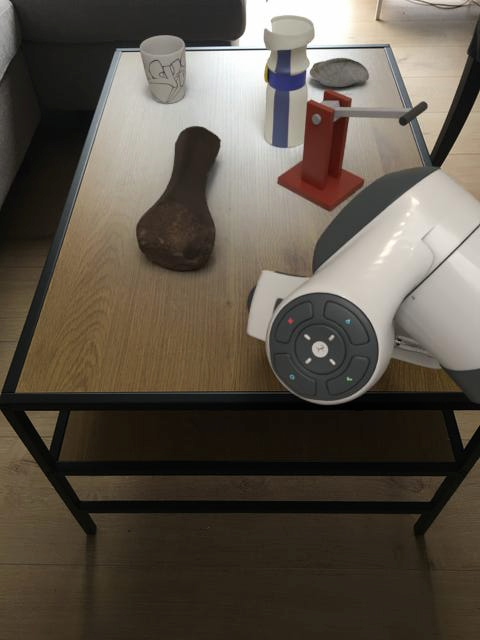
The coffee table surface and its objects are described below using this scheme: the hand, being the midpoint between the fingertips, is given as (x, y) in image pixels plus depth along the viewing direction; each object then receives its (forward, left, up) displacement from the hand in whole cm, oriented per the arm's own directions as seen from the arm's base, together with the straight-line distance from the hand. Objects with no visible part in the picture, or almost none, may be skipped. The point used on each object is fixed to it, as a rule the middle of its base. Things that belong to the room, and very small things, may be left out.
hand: (353, 316), depth 61 cm
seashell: (+7, -68, -8) cm, 69 cm away
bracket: (+7, -34, -8) cm, 36 cm away
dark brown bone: (+27, -23, -8) cm, 36 cm away
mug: (+40, -59, -8) cm, 72 cm away
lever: (+1, -31, +6) cm, 31 cm away
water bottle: (+15, -47, -8) cm, 50 cm away
